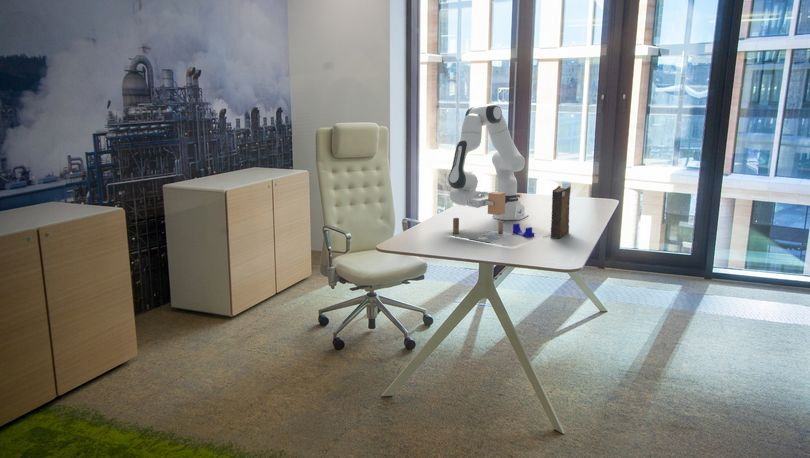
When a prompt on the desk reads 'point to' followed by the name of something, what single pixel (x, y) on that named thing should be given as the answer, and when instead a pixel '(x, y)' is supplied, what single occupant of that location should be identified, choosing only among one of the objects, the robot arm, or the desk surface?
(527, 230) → the cable clip
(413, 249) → the desk surface
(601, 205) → the desk surface
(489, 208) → the block
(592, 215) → the desk surface
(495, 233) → the board
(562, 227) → the book
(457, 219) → the pin
